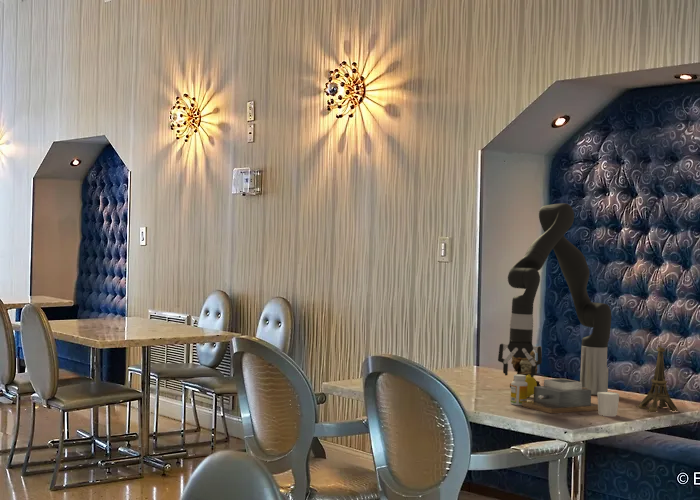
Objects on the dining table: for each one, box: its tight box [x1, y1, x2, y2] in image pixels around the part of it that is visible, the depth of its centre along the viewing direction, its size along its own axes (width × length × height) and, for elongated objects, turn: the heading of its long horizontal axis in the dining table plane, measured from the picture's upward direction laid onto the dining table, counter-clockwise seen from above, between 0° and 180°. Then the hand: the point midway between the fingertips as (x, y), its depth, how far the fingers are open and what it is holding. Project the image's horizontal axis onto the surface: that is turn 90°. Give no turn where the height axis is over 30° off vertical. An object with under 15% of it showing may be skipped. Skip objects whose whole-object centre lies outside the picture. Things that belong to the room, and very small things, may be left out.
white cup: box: [596, 391, 621, 417], centre depth 315 cm, size 7×7×7 cm
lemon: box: [525, 375, 537, 398], centre depth 346 cm, size 6×6×8 cm
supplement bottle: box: [510, 373, 528, 406], centre depth 329 cm, size 5×5×10 cm
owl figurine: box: [509, 349, 542, 389], centre depth 367 cm, size 18×12×17 cm, turn 0°
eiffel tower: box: [636, 342, 679, 413], centre depth 329 cm, size 11×11×25 cm
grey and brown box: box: [521, 378, 598, 415], centre depth 324 cm, size 22×14×9 cm, turn 121°
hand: (519, 376), depth 329 cm, fingers open, 8 cm apart
